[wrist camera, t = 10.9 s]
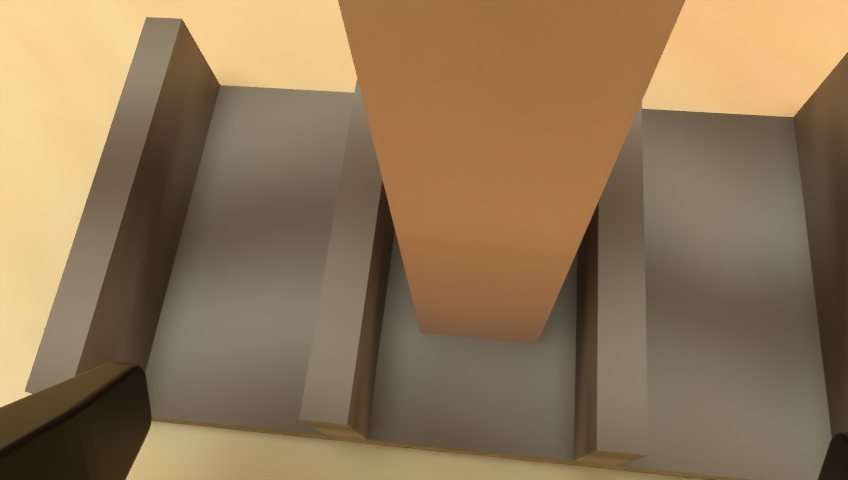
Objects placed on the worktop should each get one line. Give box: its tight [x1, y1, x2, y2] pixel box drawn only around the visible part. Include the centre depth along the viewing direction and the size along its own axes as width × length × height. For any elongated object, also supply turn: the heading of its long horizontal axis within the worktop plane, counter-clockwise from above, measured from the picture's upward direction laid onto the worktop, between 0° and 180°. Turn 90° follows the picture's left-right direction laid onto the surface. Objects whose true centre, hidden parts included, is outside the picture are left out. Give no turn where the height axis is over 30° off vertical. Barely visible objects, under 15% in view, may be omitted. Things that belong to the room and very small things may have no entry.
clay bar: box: [338, 0, 685, 344], centre depth 12 cm, size 4×3×13 cm, turn 173°
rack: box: [25, 17, 848, 480], centre depth 17 cm, size 10×20×4 cm, turn 84°
